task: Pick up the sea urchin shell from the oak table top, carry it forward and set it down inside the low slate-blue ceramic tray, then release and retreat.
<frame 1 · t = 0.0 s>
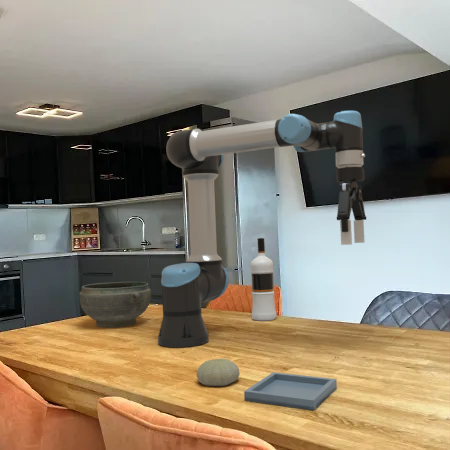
hand: (353, 243, 141), 28 cm above the table, fingers open, 13 cm apart
tray: (291, 394, 100), on the table
sea urchin shell: (218, 383, 111), on the table
bowl: (116, 324, 189), on the table
vodka: (264, 319, 187), on the table
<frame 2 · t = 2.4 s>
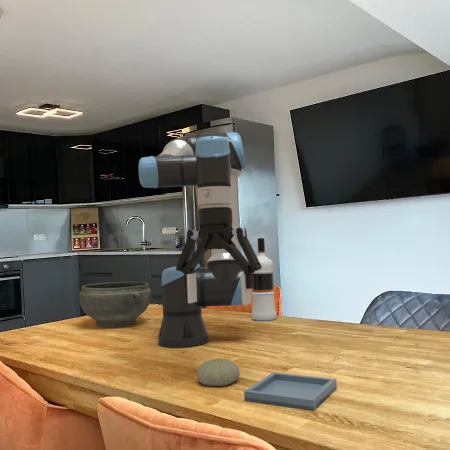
hand: (218, 303, 111), 17 cm above the table, fingers open, 13 cm apart
nothing on the table moved.
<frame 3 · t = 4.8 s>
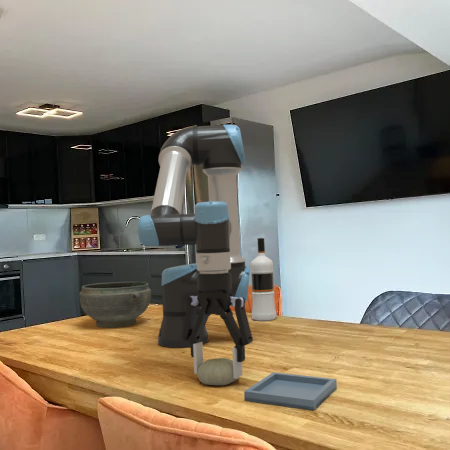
hand: (218, 374, 111), 2 cm above the table, fingers closed on sea urchin shell, 9 cm apart
sea urchin shell: (219, 382, 111), on the table, touching gripper
everything else where it was.
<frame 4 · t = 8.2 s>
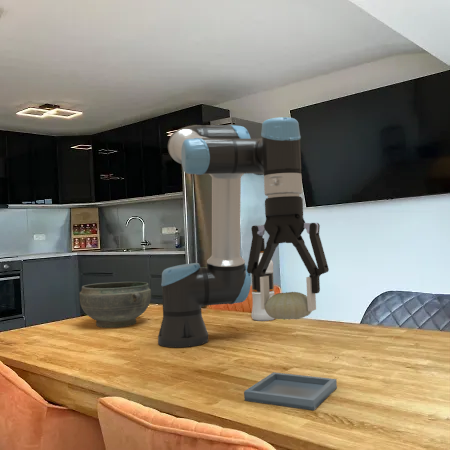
hand: (288, 309, 100), 17 cm above the table, fingers closed on sea urchin shell, 9 cm apart
sea urchin shell: (289, 318, 100), point 15 cm above the table, touching gripper
everything else where it was.
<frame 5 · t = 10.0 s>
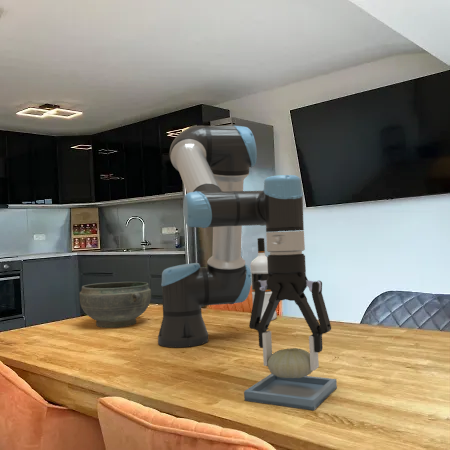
hand: (290, 366, 100), 6 cm above the table, fingers closed on sea urchin shell, 9 cm apart
sea urchin shell: (292, 375, 100), point 4 cm above the table, touching gripper
everything else where it was.
when the fingers open (4 cm above the table, at t = 11.3 s): sea urchin shell drops 2 cm, resting on tray.
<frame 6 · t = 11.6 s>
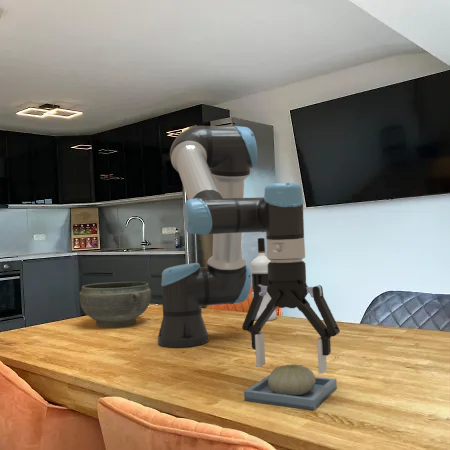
hand: (290, 368, 100), 5 cm above the table, fingers open, 12 cm apart
sea urchin shell: (292, 391, 100), resting on tray
everything else where it was.
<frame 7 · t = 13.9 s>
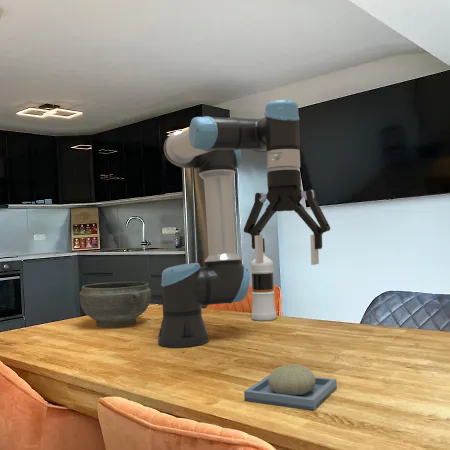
hand: (286, 263, 115), 25 cm above the table, fingers open, 13 cm apart
nothing on the table moved.
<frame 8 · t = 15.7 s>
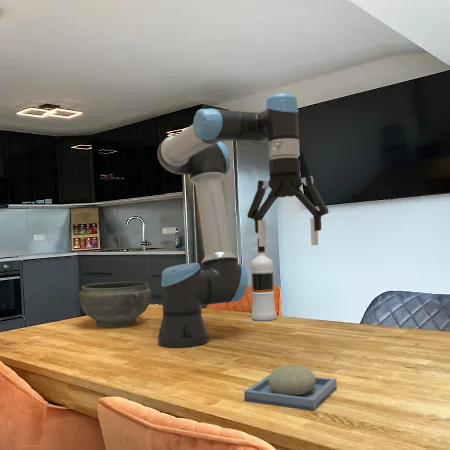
hand: (288, 245, 123), 29 cm above the table, fingers open, 13 cm apart
nothing on the table moved.
at the end: sea urchin shell inside the target area on the tray (0.2 cm from its centre), point 0.4 cm above the tray's base; the gripper is holding nothing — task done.
